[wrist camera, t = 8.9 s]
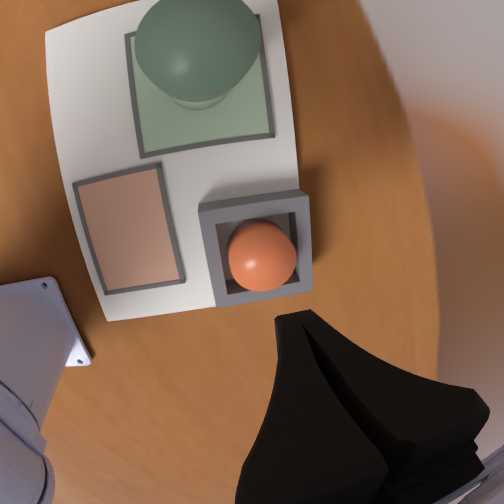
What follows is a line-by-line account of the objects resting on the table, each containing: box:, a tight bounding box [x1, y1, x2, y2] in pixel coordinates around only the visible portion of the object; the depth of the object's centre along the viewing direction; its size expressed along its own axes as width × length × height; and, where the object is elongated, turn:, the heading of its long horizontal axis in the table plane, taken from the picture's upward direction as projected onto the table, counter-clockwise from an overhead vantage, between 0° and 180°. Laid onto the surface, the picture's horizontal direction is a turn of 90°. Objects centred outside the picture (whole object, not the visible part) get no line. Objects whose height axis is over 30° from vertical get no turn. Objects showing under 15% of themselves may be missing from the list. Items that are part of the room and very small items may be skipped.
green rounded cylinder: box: [134, 0, 261, 110], centre depth 11 cm, size 4×4×8 cm
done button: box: [227, 219, 296, 292], centre depth 18 cm, size 4×4×2 cm
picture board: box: [45, 0, 313, 322], centre depth 16 cm, size 14×20×2 cm
